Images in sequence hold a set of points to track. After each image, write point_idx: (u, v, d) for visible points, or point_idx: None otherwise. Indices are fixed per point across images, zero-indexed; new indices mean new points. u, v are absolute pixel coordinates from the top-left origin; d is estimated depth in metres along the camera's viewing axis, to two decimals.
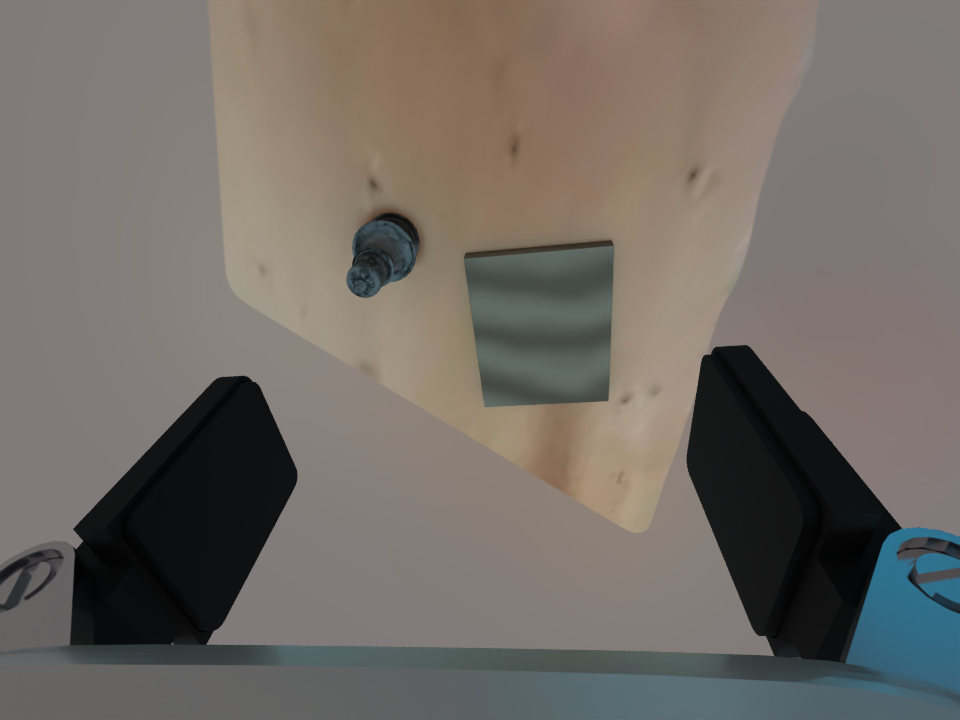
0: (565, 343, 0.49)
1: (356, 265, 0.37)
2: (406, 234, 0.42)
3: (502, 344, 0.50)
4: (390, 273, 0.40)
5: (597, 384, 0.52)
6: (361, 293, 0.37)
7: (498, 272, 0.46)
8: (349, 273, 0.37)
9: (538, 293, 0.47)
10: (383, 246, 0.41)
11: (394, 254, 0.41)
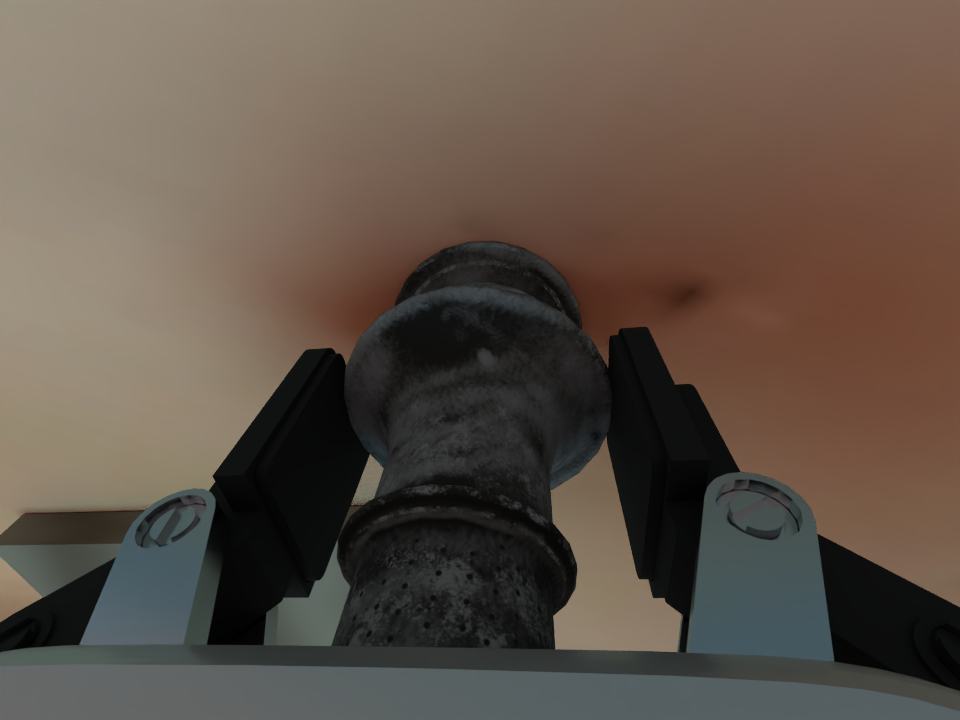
0: None
1: None
2: None
3: None
4: None
5: None
6: None
7: None
8: None
9: None
10: None
11: None
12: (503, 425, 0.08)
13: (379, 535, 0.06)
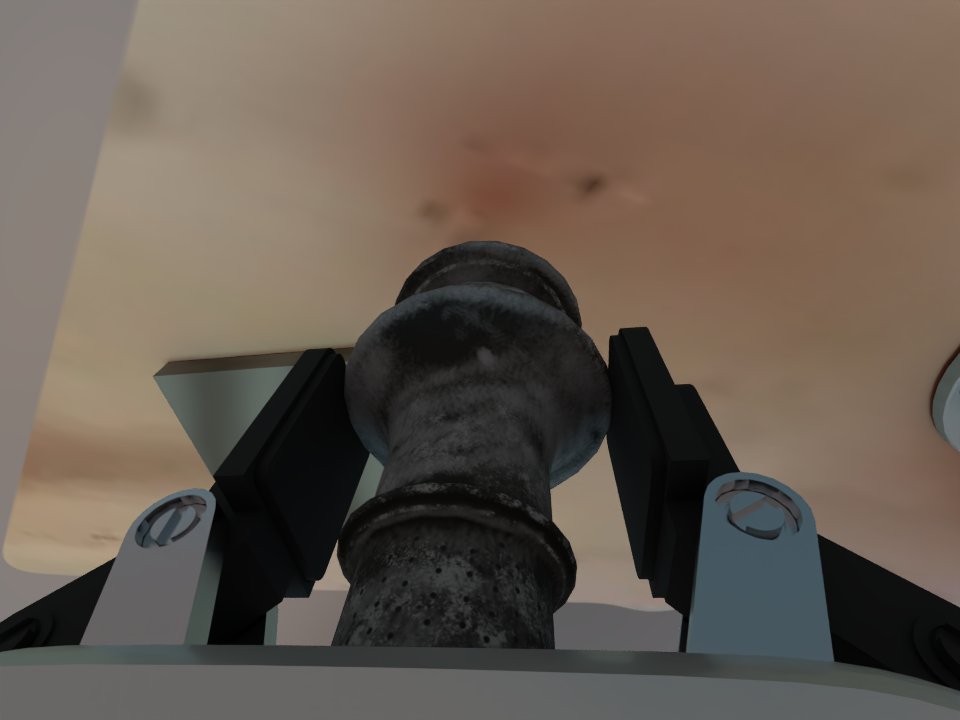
0: None
1: None
2: None
3: None
4: None
5: None
6: None
7: None
8: None
9: None
10: None
11: None
12: (503, 424, 0.08)
13: (379, 533, 0.06)
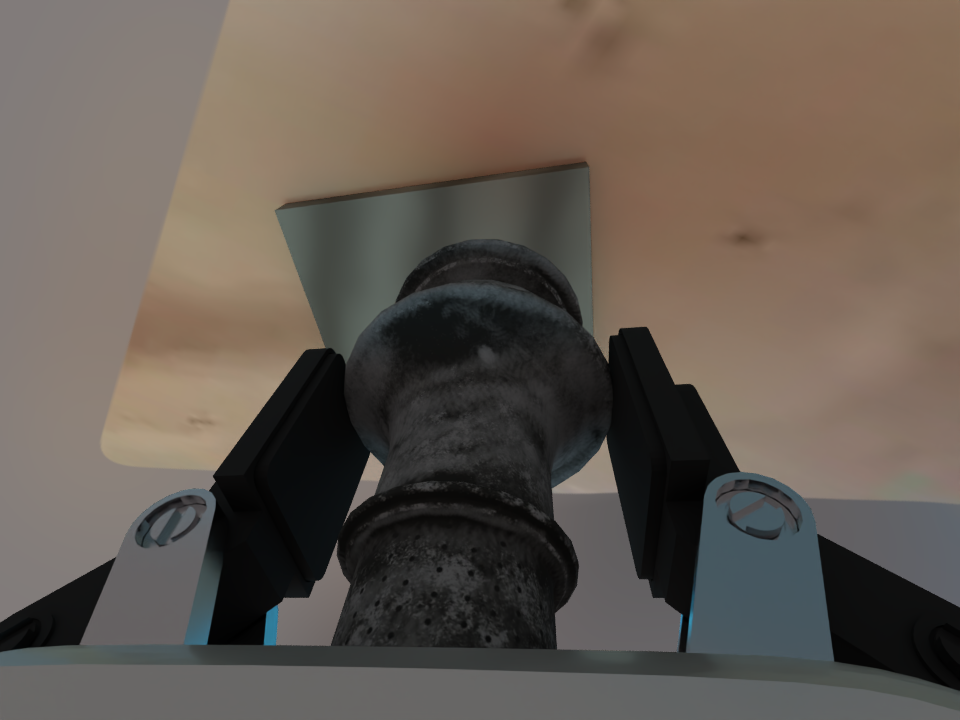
0: None
1: None
2: None
3: (422, 239, 0.28)
4: None
5: None
6: None
7: (560, 230, 0.27)
8: None
9: None
10: None
11: None
12: (503, 422, 0.08)
13: (379, 532, 0.06)
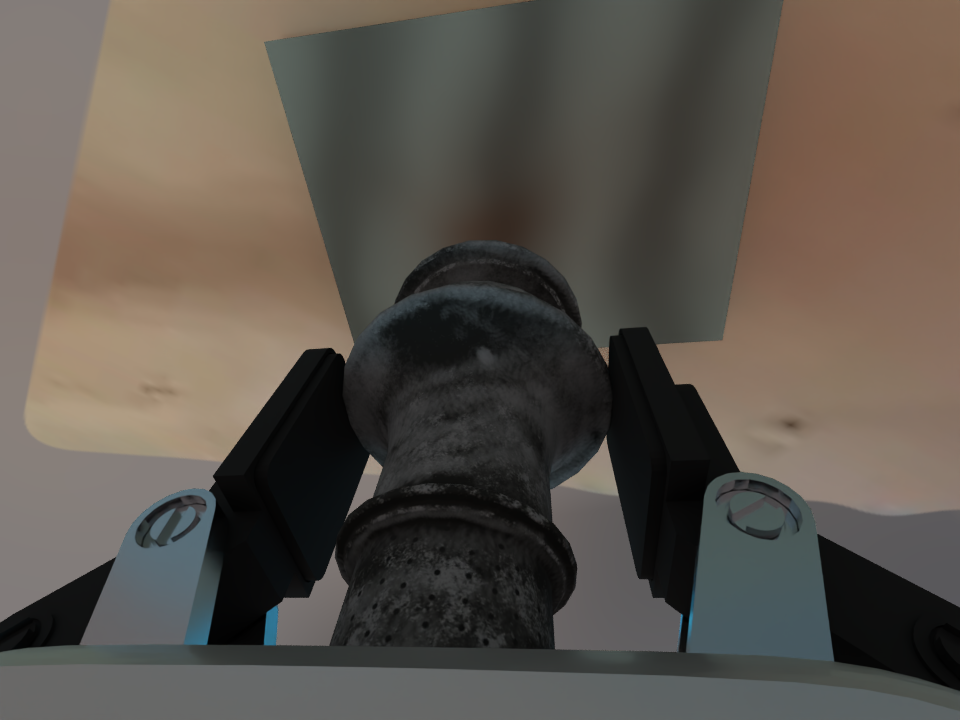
0: None
1: None
2: None
3: (495, 98, 0.18)
4: None
5: None
6: None
7: (719, 83, 0.17)
8: None
9: (640, 195, 0.19)
10: None
11: None
12: (502, 424, 0.08)
13: (378, 534, 0.06)
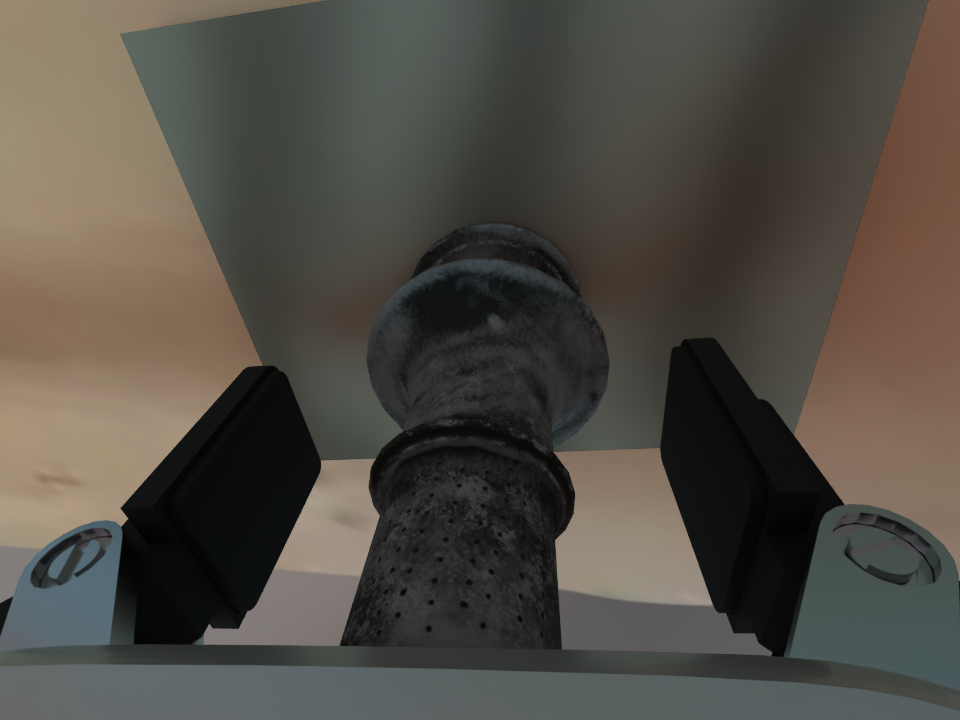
0: None
1: None
2: None
3: (477, 120, 0.12)
4: None
5: (354, 434, 0.18)
6: None
7: (821, 97, 0.11)
8: None
9: (689, 258, 0.13)
10: None
11: None
12: (511, 378, 0.09)
13: (407, 462, 0.07)
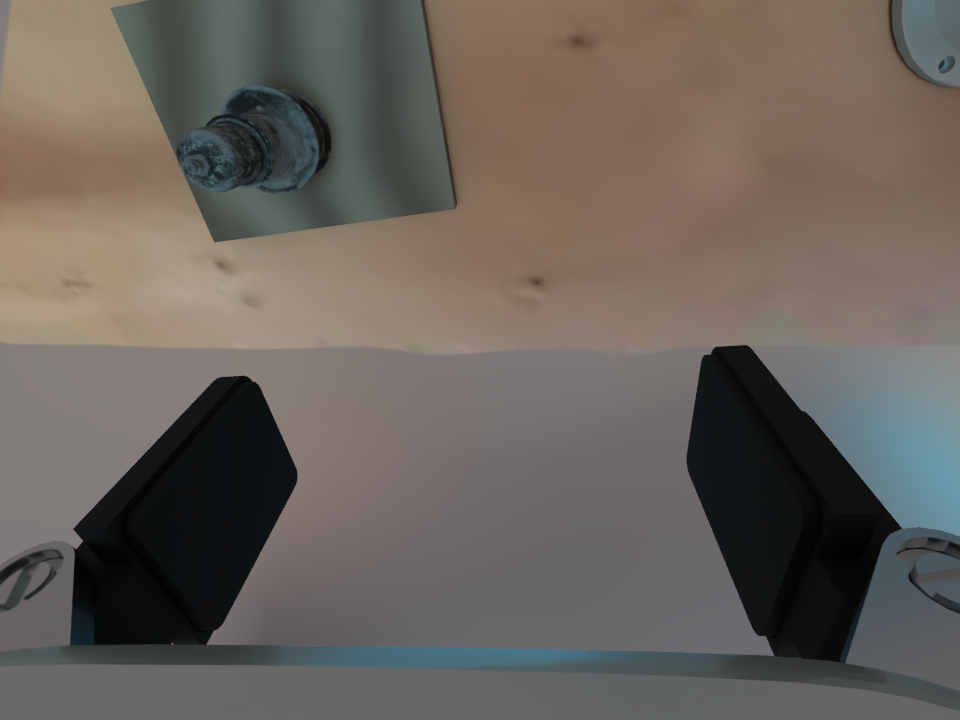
0: None
1: (233, 151, 0.22)
2: (305, 182, 0.29)
3: (262, 40, 0.28)
4: None
5: (238, 220, 0.34)
6: (184, 162, 0.21)
7: (395, 24, 0.27)
8: (214, 139, 0.21)
9: (370, 103, 0.30)
10: (279, 159, 0.26)
11: (271, 173, 0.27)
12: (258, 120, 0.25)
13: None
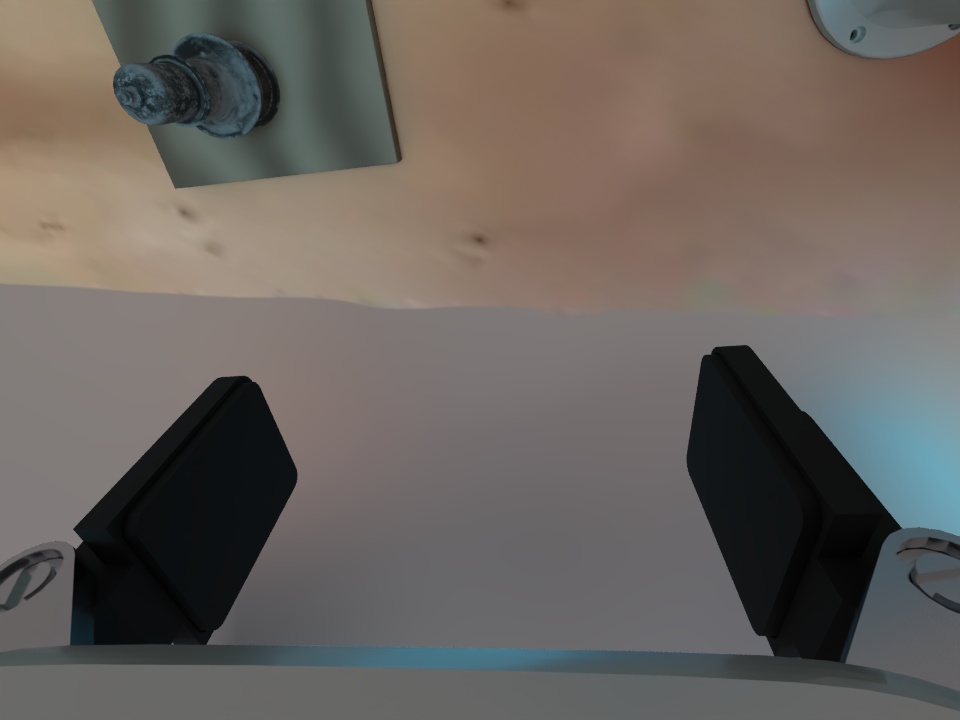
0: None
1: (165, 86, 0.24)
2: (250, 128, 0.31)
3: None
4: (178, 122, 0.27)
5: (196, 168, 0.36)
6: None
7: None
8: (146, 73, 0.23)
9: (314, 56, 0.32)
10: (220, 102, 0.28)
11: (213, 116, 0.29)
12: (199, 64, 0.27)
13: None
